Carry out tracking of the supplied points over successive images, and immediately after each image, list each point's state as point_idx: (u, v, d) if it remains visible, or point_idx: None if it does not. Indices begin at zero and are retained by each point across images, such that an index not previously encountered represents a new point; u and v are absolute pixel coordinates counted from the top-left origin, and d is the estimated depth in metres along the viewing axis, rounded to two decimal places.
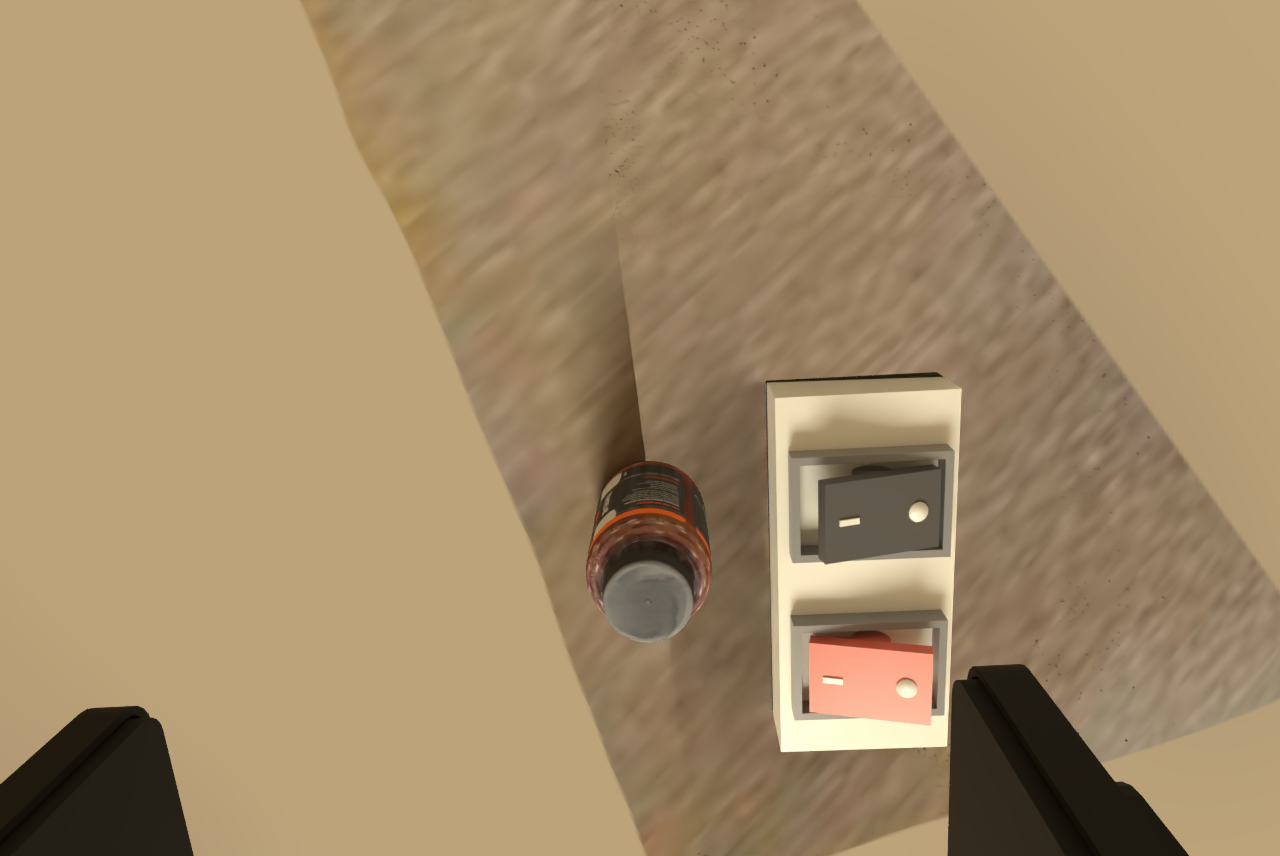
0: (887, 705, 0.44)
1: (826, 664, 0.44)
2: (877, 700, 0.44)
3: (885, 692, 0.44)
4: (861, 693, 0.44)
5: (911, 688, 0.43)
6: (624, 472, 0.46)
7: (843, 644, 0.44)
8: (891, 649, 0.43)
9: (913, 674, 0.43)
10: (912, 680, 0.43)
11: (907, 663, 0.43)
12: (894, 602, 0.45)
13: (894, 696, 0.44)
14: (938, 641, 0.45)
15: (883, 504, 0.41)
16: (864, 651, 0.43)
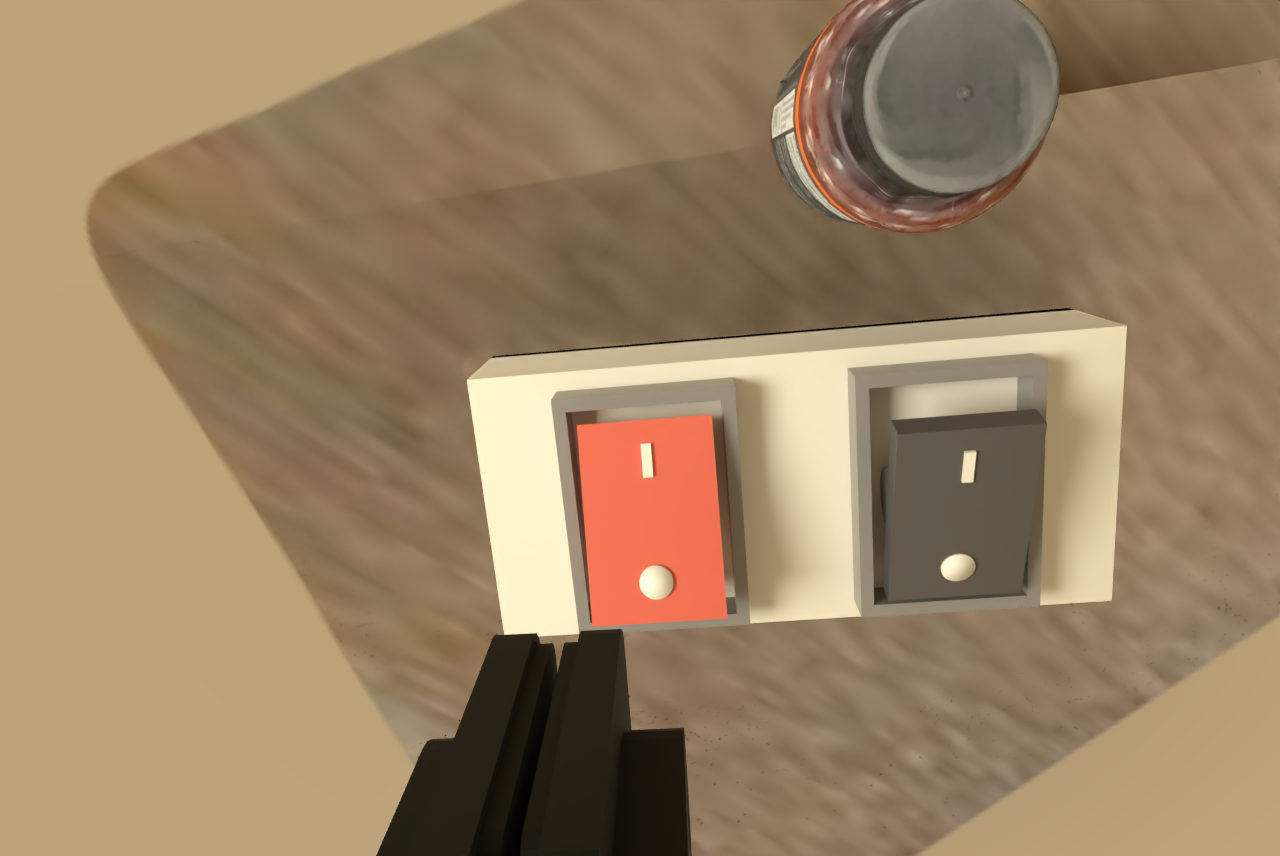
0: (616, 554, 0.26)
1: (675, 447, 0.26)
2: (622, 536, 0.26)
3: (640, 548, 0.26)
4: (631, 509, 0.26)
5: (658, 590, 0.26)
6: None
7: (715, 472, 0.26)
8: None
9: (684, 590, 0.26)
10: (671, 589, 0.26)
11: (702, 579, 0.26)
12: (758, 539, 0.28)
13: (636, 563, 0.26)
14: None
15: (984, 515, 0.25)
16: (712, 508, 0.26)
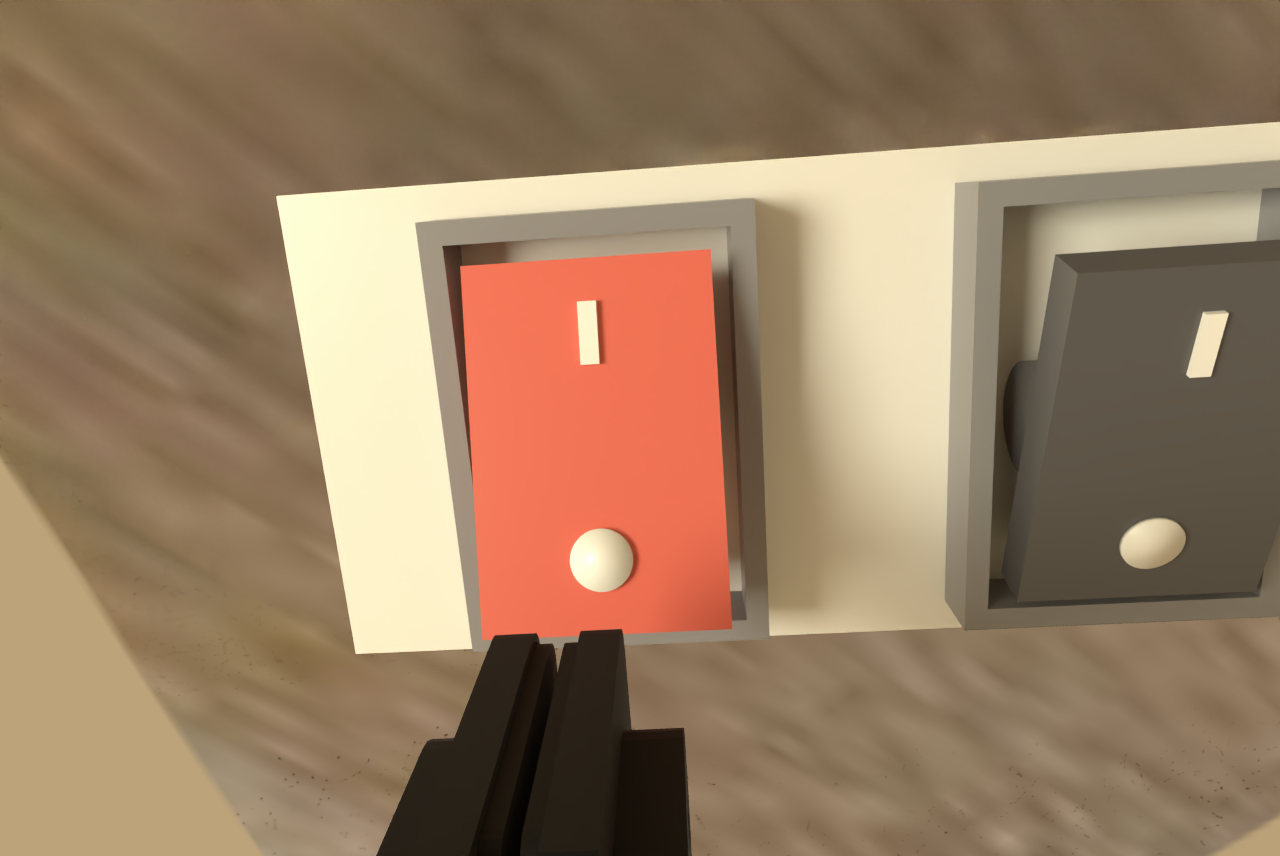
0: (529, 506, 0.14)
1: (641, 309, 0.14)
2: (541, 474, 0.14)
3: (574, 496, 0.14)
4: (557, 424, 0.14)
5: (605, 574, 0.14)
6: None
7: None
8: (724, 504, 0.14)
9: (652, 575, 0.14)
10: (629, 574, 0.14)
11: (687, 555, 0.14)
12: (785, 492, 0.16)
13: (565, 525, 0.14)
14: None
15: (1217, 445, 0.13)
16: (707, 423, 0.14)
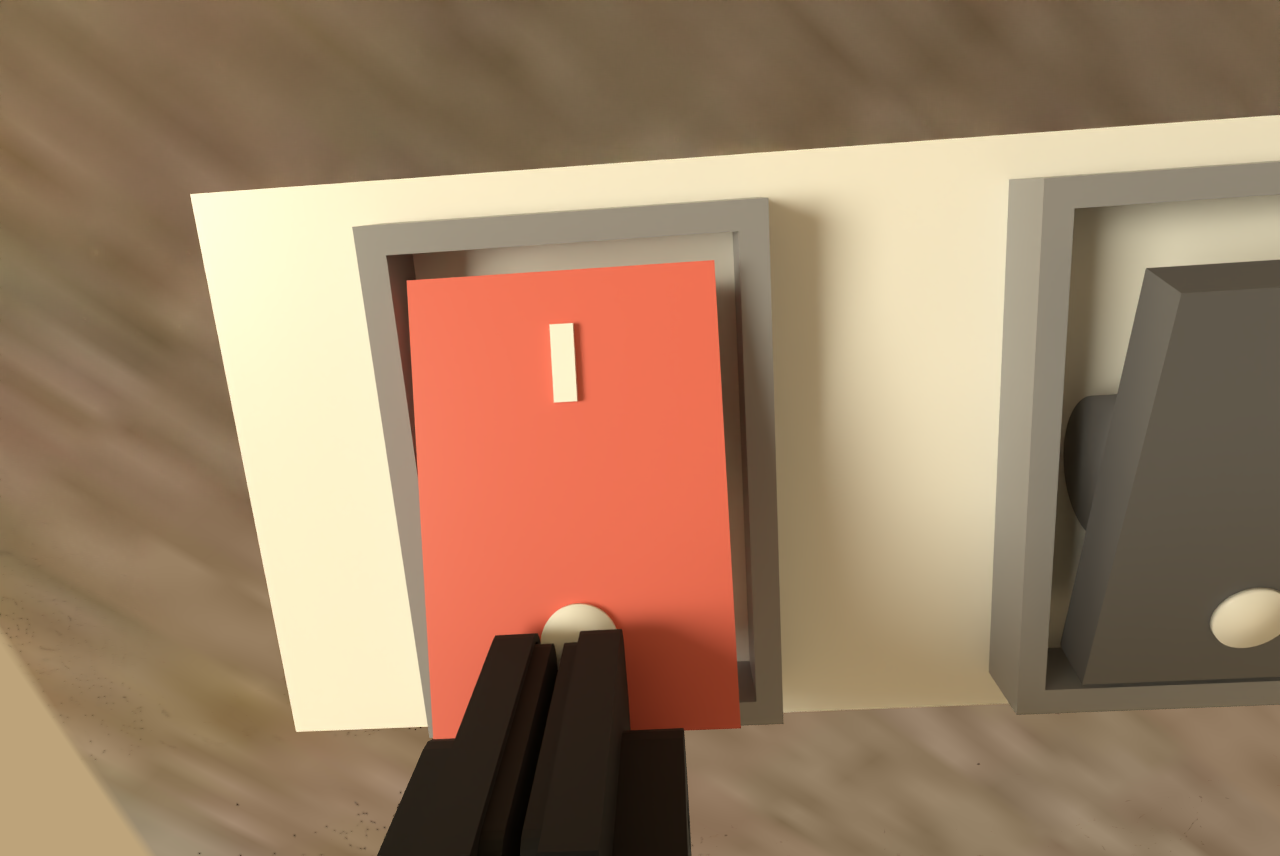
0: (490, 575, 0.11)
1: (629, 333, 0.11)
2: (505, 537, 0.11)
3: (546, 564, 0.11)
4: (525, 475, 0.11)
5: None
6: None
7: None
8: (731, 573, 0.11)
9: (642, 661, 0.11)
10: None
11: (686, 637, 0.11)
12: (801, 546, 0.14)
13: (535, 599, 0.11)
14: None
15: None
16: (710, 474, 0.11)
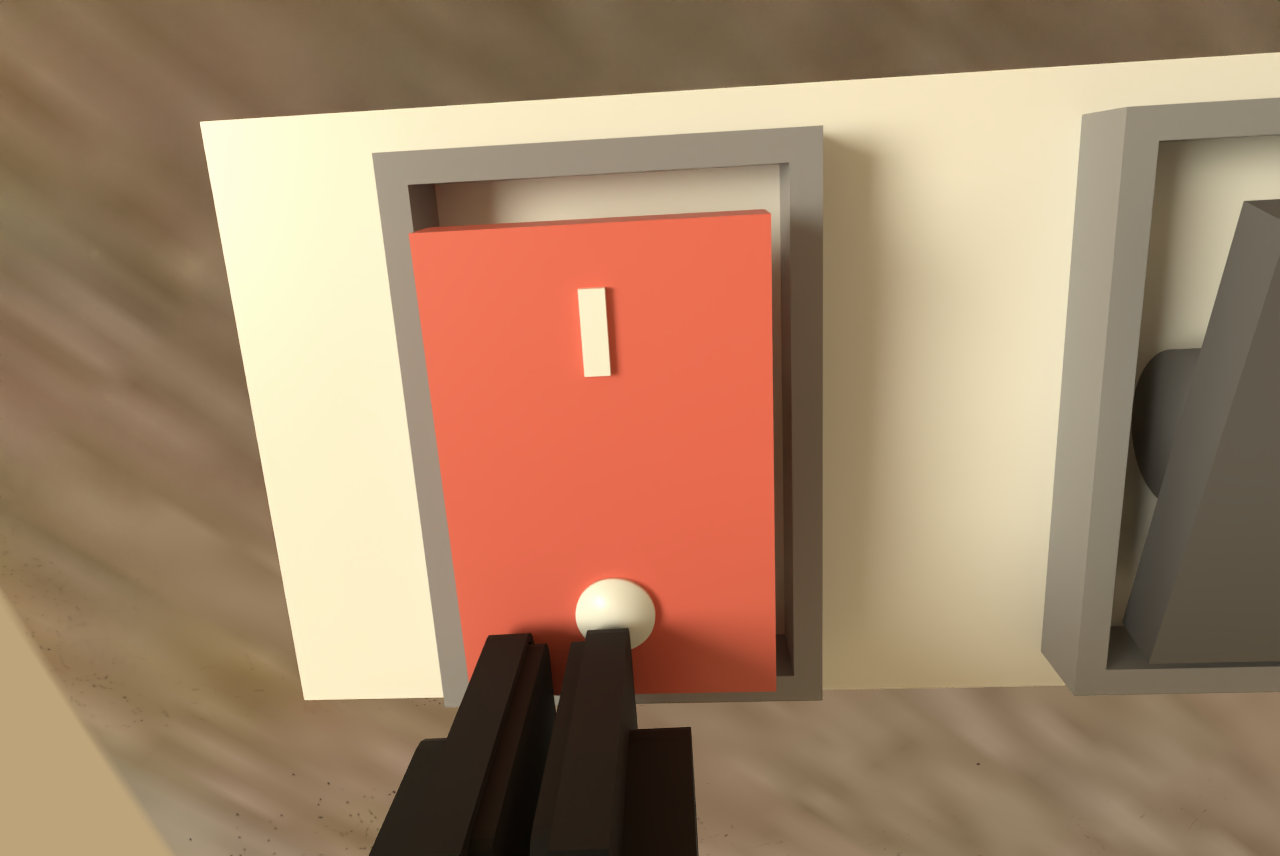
0: (521, 549, 0.11)
1: (669, 298, 0.10)
2: (535, 512, 0.11)
3: (579, 540, 0.11)
4: (554, 451, 0.10)
5: None
6: None
7: None
8: (773, 549, 0.11)
9: (679, 631, 0.11)
10: (650, 629, 0.11)
11: (724, 610, 0.11)
12: (843, 512, 0.13)
13: (568, 573, 0.11)
14: None
15: None
16: (756, 452, 0.10)
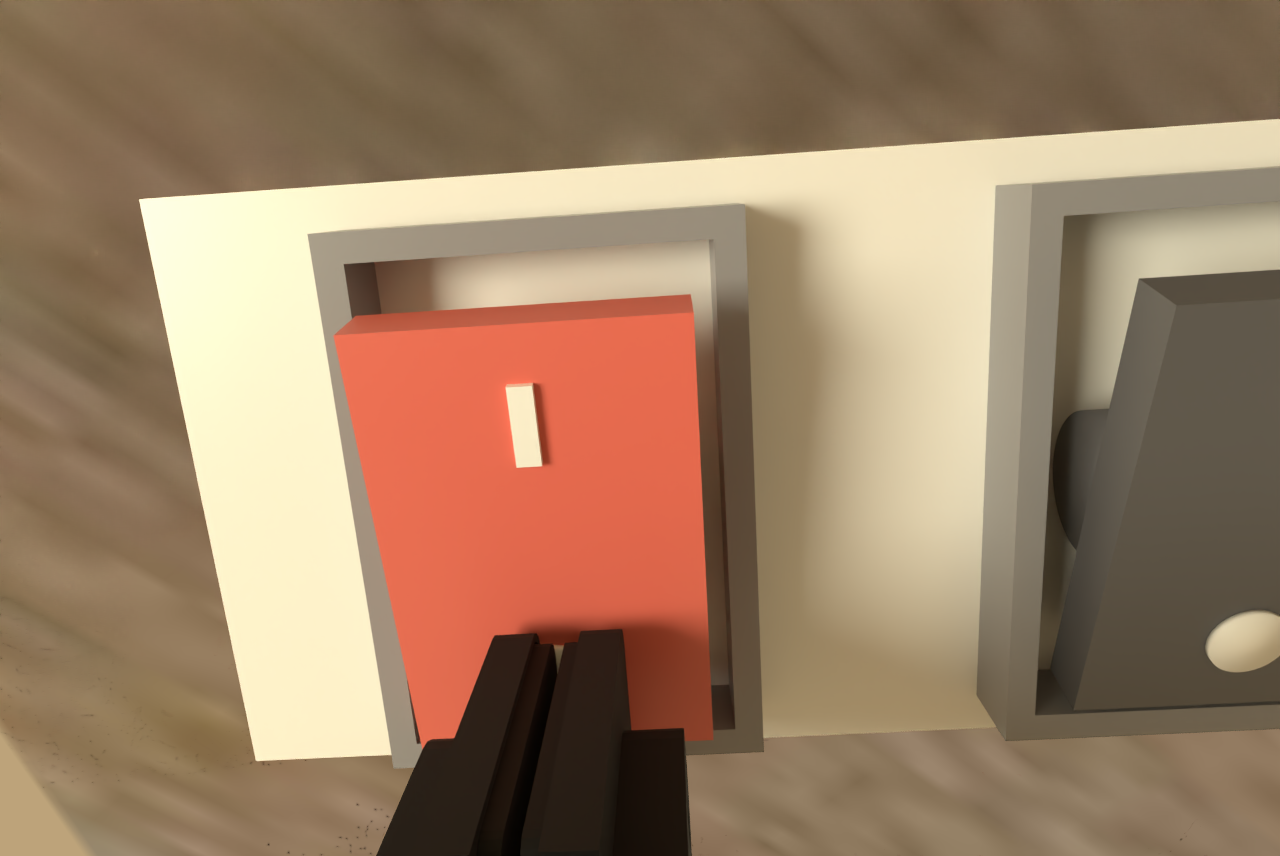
0: (463, 622, 0.11)
1: (596, 392, 0.10)
2: (475, 589, 0.11)
3: (519, 612, 0.11)
4: (491, 533, 0.11)
5: None
6: None
7: None
8: None
9: None
10: None
11: (661, 671, 0.11)
12: (782, 566, 0.13)
13: None
14: None
15: None
16: (687, 531, 0.11)
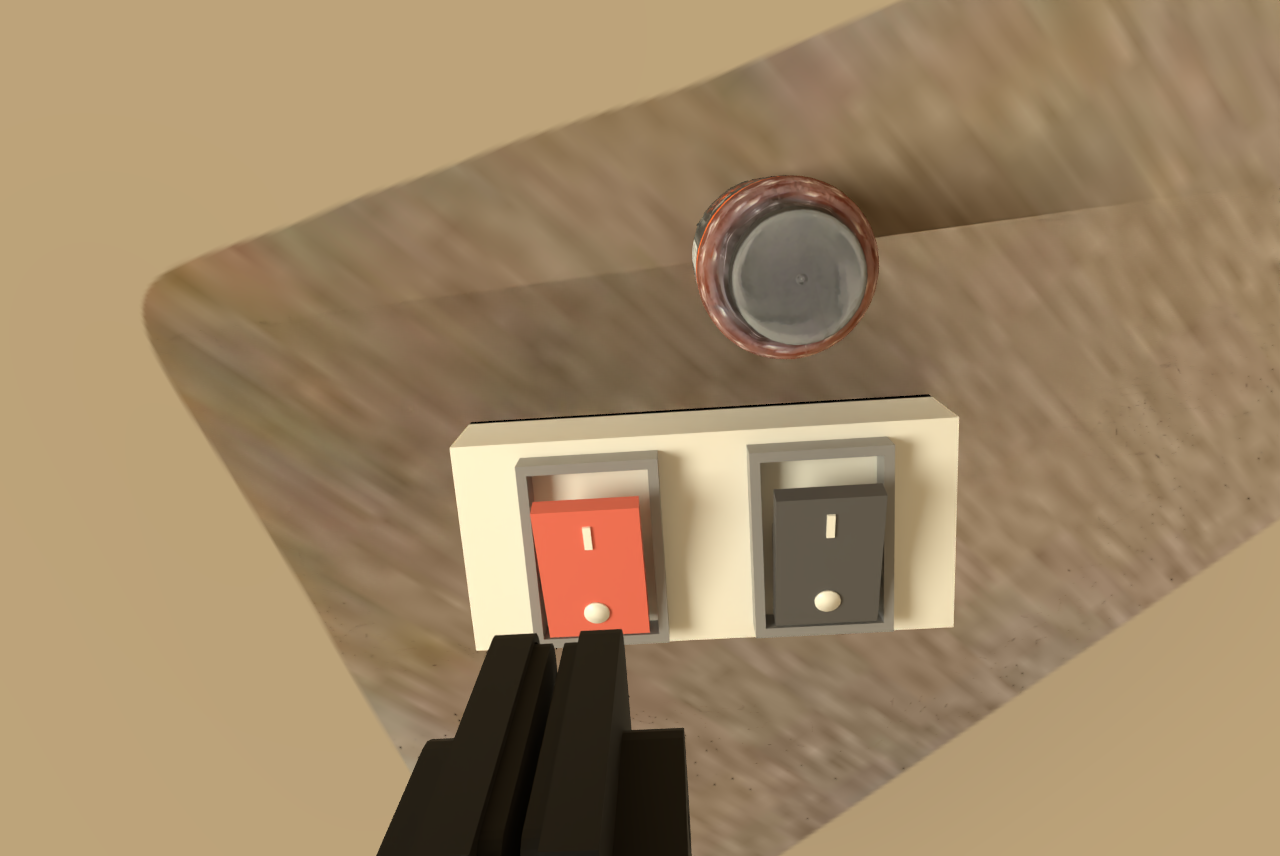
0: (566, 595, 0.34)
1: (609, 528, 0.32)
2: (570, 585, 0.34)
3: (584, 592, 0.34)
4: (576, 568, 0.33)
5: (598, 617, 0.34)
6: None
7: (641, 542, 0.33)
8: (646, 592, 0.34)
9: (617, 616, 0.34)
10: (608, 616, 0.34)
11: (631, 610, 0.34)
12: (677, 575, 0.36)
13: (581, 601, 0.34)
14: (638, 633, 0.35)
15: (845, 562, 0.33)
16: (638, 567, 0.33)
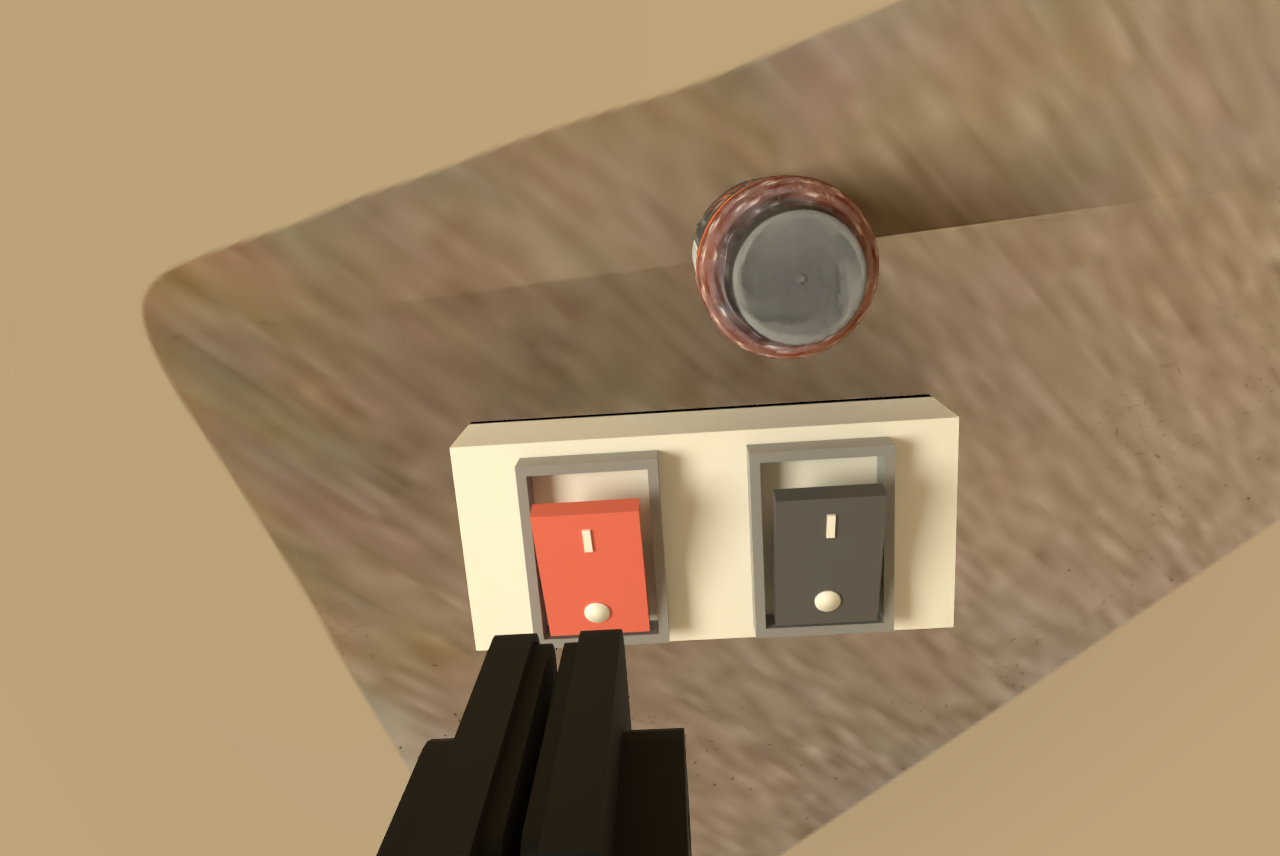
0: (566, 595, 0.34)
1: (609, 531, 0.32)
2: (570, 586, 0.34)
3: (584, 592, 0.34)
4: (576, 570, 0.33)
5: (598, 617, 0.34)
6: None
7: (641, 544, 0.33)
8: (646, 592, 0.34)
9: (617, 615, 0.34)
10: (608, 615, 0.34)
11: (631, 609, 0.34)
12: (677, 575, 0.36)
13: (581, 601, 0.34)
14: (638, 633, 0.35)
15: (845, 562, 0.33)
16: (638, 568, 0.33)
